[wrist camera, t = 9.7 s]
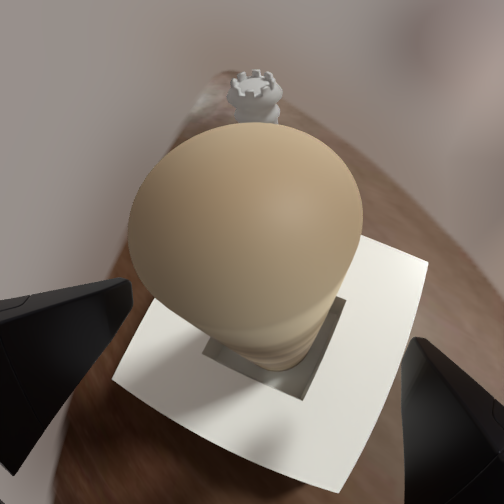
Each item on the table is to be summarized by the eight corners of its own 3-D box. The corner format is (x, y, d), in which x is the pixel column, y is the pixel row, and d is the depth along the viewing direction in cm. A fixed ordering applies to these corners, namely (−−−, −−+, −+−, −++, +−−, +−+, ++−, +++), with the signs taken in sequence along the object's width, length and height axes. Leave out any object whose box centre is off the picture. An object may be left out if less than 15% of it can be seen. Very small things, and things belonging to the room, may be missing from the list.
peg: (311, 371, 15) (376, 325, 4) (243, 371, 16) (109, 320, 4) (310, 306, 17) (344, 120, 5) (245, 307, 17) (153, 133, 5)
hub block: (327, 471, 14) (338, 493, 10) (145, 383, 17) (111, 379, 13) (403, 287, 18) (428, 262, 14) (233, 221, 21) (221, 185, 17)
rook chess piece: (225, 184, 22) (199, 98, 15) (247, 142, 24) (231, 59, 17) (284, 198, 21) (279, 108, 14) (301, 153, 23) (301, 66, 16)
